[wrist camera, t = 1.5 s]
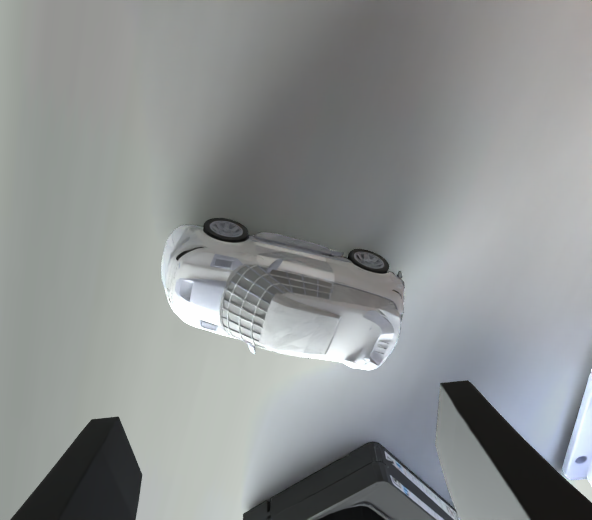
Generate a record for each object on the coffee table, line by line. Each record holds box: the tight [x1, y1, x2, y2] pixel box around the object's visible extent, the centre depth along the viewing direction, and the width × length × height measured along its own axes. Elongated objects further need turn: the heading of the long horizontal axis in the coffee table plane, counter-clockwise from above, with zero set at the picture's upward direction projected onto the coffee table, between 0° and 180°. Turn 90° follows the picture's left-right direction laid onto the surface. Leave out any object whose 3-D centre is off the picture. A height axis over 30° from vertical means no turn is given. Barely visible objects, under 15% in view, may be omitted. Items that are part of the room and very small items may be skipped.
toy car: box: [161, 218, 405, 370], centre depth 15 cm, size 4×8×3 cm, turn 75°
